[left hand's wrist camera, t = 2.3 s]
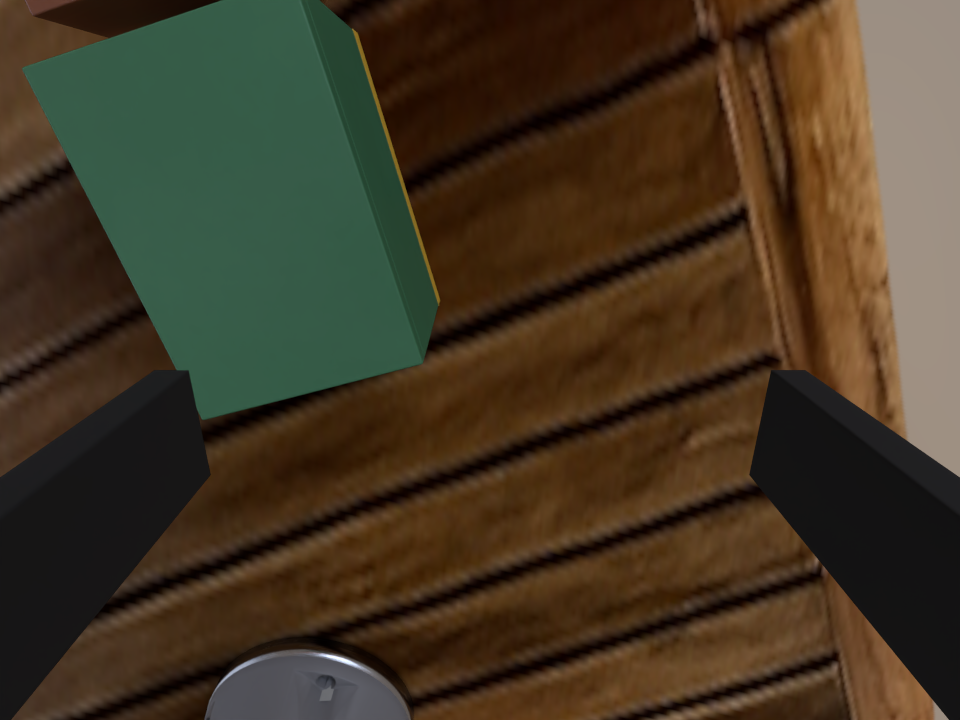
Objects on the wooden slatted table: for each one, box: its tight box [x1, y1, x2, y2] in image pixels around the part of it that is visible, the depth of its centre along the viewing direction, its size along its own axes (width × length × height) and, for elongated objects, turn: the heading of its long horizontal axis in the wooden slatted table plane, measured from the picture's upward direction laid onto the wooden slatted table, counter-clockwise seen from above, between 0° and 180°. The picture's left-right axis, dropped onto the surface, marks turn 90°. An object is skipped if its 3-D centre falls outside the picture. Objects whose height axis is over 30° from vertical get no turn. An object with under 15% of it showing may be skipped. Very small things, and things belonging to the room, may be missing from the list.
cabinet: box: [22, 0, 440, 420], centre depth 24 cm, size 14×10×10 cm
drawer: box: [25, 0, 221, 38], centre depth 22 cm, size 18×8×8 cm, turn 15°
